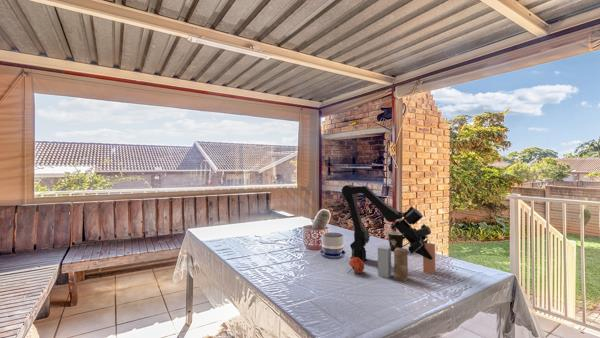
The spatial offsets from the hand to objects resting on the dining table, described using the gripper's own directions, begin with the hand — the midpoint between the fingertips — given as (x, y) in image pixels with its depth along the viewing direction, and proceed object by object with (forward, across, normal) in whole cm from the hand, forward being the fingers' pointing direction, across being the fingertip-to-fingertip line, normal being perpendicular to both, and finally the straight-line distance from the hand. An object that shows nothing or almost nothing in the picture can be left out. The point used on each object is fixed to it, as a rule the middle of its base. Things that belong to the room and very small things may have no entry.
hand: (432, 257), depth 127 cm
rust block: (+4, 0, +6) cm, 7 cm away
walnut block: (-3, -15, +12) cm, 19 cm away
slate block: (-8, -15, +17) cm, 24 cm away
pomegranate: (-16, -18, +26) cm, 36 cm away
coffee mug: (-10, +26, +20) cm, 34 cm away
